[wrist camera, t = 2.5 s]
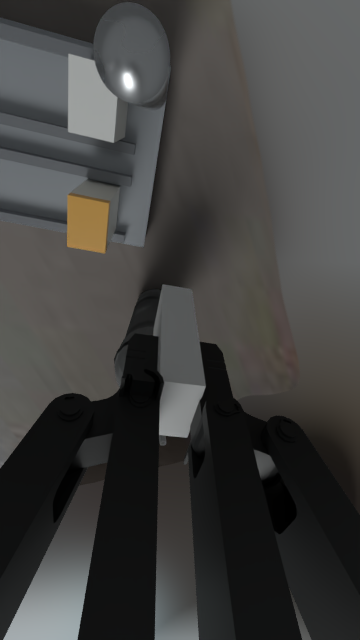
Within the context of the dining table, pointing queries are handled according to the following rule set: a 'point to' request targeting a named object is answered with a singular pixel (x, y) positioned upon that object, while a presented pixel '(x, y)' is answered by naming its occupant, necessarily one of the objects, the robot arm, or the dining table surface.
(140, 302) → the beverage cup
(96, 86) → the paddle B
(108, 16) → the post
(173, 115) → the dining table surface
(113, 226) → the grey orange block
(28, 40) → the panel
